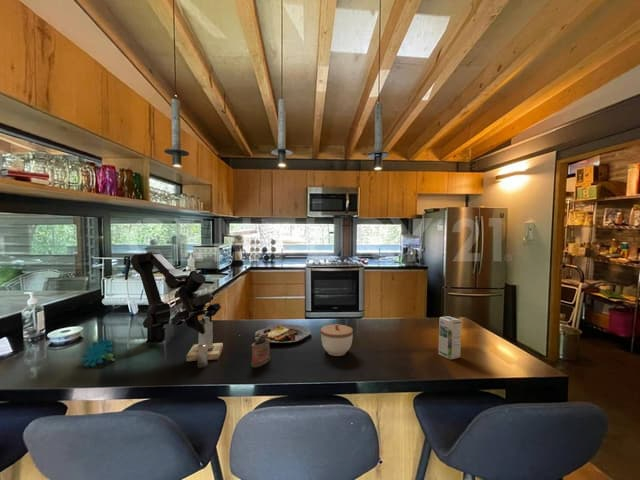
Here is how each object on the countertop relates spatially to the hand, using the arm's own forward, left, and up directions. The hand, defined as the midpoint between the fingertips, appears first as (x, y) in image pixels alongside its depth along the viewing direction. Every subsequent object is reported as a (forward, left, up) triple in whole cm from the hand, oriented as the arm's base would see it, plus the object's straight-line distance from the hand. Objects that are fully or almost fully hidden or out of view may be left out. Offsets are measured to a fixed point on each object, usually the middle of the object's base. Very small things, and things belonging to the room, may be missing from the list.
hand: (207, 331), depth 111 cm
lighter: (+20, -10, -9) cm, 24 cm away
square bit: (-1, +1, -7) cm, 7 cm away
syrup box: (+91, -15, -9) cm, 93 cm away
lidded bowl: (+49, -5, -9) cm, 50 cm away
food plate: (+29, +16, -9) cm, 34 cm away
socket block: (-1, +1, -9) cm, 9 cm away
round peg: (0, -9, -9) cm, 13 cm away
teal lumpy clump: (-36, -1, -9) cm, 38 cm away
